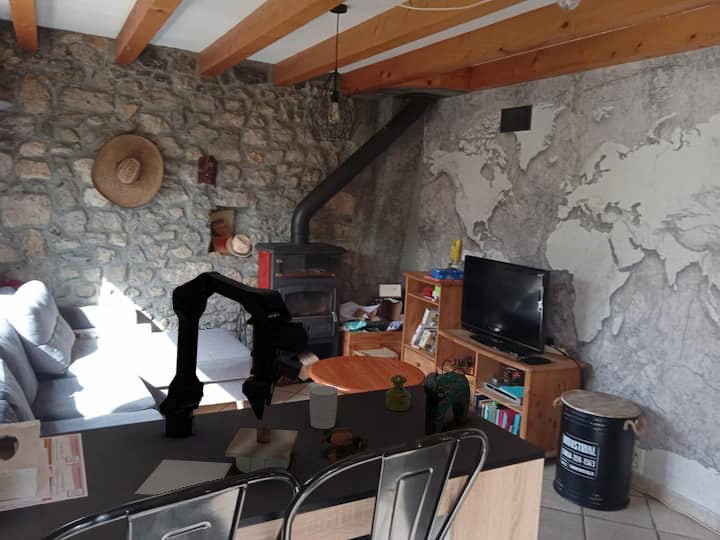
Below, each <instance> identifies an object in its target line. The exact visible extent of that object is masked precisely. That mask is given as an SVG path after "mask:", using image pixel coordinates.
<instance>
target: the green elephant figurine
mask: <svg viewBox="0 0 720 540" xmlns="http://www.w3.org/2000/svg"><path fill="white" fill-rule="evenodd" d="M446 362H448V363H449V364H451V363H452V361H451V360H450V359H448V358H447V359H444V360H443V362H442V364H441V373H440V372H438V371H436V372H434V371H433V372H432V371H431V372H429V373H428V374H427V375H426V376H425V377H424V383H423V391H424V393H425V395H426V397H425V408H424V413H425V415H424V417H425V418H424V435H426V436H429V435H431V434H435V433H440V432H441V433H442V428H443V424H444V419H445V416H446V413H447V411H448V409H449V408H450V407H452V415H453V421H454V422H457V423H465V422H466V421H467V420H468V415H469V413H468V412H469V408H470V403H471V386H470V381H469V379H468V377H467V375H466V371H465V368H463V367H460V366H459V367H455V368H454V369H452V370H451V371H450V370H449V371H446V372H444V366H445V364H446ZM456 370H462V372H463V373H462V372H458V371H456Z"/></svg>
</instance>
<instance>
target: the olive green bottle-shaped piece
mask: <svg viewBox="0 0 720 540" xmlns="http://www.w3.org/2000/svg"><path fill="white" fill-rule="evenodd" d="M390 381H391V382H392V383H393V384H394V385H393V386H392V387H391V388H390V389H389V390H387V391H386V392H385V395H386V399H385V407H386V409H388V410H390V411H393V412H406V411H408V410H409V409H410V407H411V404H410V403H411V400H410V399H411V396H412V395H411V393H410V391H408V390H407V389H406V388H405V387H404V385H405V384H406V383H407V382H408V378H407V377H405V376H403V375H402V374H396V375H394V376H392V377H391V378H390Z"/></svg>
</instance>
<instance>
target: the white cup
mask: <svg viewBox="0 0 720 540" xmlns="http://www.w3.org/2000/svg"><path fill="white" fill-rule="evenodd" d="M338 397H339V388H337V387H335V386H331V385H315V386H312V387H310V388H309V416H310V417H309V418H310V426H311V427H313V428H314V429H318V430H327V429H328V430H330V429H333V428H334V427H335V425H336V416H337V410H338Z"/></svg>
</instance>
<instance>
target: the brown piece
mask: <svg viewBox="0 0 720 540" xmlns="http://www.w3.org/2000/svg"><path fill="white" fill-rule="evenodd" d="M350 441H351V442H350ZM319 443H320V445H322V444H323V443H328V444H331V445H333V448H334V451H335V452H334V453H330V454H328V461H329V464H330V465H332V464H331V463H333V462H335V461H338V460H340V459H342V458H345V457H347V456H350V455H353V454H356V453H360V452H363V453H364V452H365V451H366V450H367V448H368V447H369V443H368V438H367V437H366V436H365V435H363V434H357V435H355V434H354V433H353V428H351V427H340V428H329V429H328V430H327V429H325V431H323V436H322V439H321V440H320V442H319ZM359 443H361V446H360V447H359ZM360 454H361V453H360Z"/></svg>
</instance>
